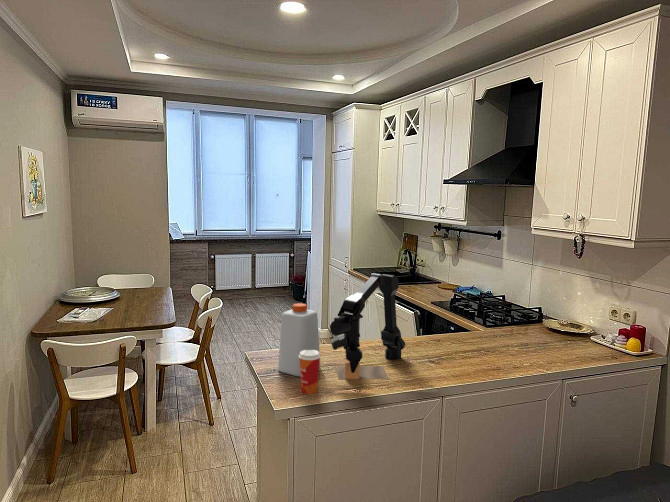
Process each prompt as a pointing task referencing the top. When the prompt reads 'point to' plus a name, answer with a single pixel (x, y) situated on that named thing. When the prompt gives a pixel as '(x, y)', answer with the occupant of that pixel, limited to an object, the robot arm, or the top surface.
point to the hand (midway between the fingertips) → (351, 368)
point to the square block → (348, 372)
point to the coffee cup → (309, 371)
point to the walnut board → (365, 372)
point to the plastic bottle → (297, 337)
